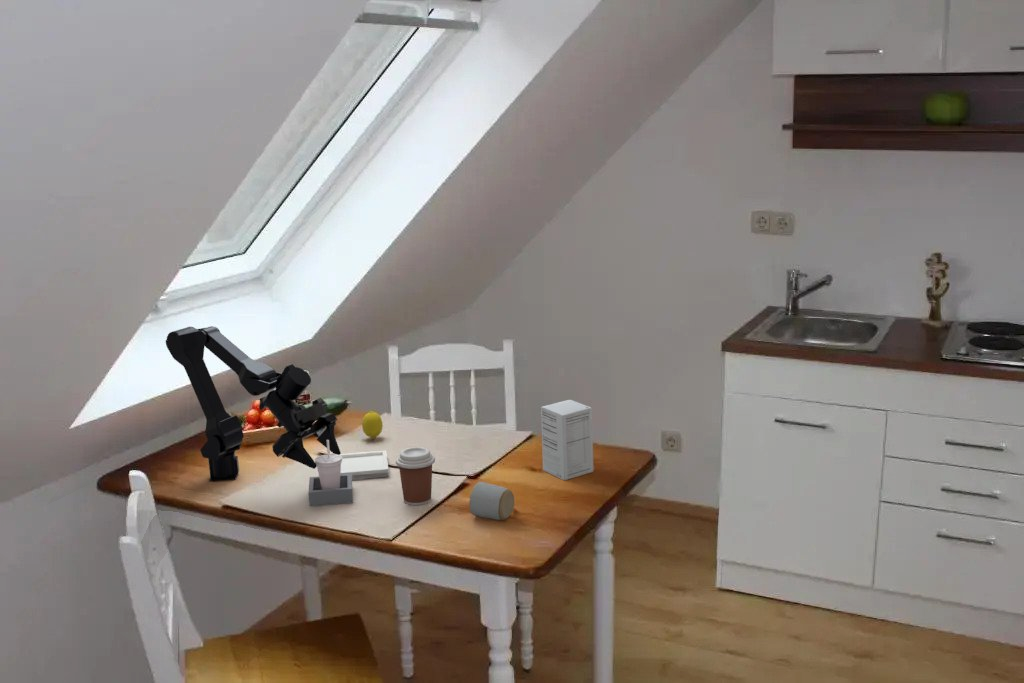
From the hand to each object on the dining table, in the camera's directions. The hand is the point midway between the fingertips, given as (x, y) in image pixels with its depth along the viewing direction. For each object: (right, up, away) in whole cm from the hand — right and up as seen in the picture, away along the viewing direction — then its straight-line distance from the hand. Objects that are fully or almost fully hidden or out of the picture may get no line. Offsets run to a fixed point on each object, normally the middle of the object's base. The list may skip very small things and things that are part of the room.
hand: (327, 461), depth 249 cm
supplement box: (+57, -4, +13) cm, 59 cm away
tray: (+5, -4, +19) cm, 20 cm away
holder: (+1, -9, +2) cm, 9 cm away
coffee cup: (+21, -9, -2) cm, 23 cm away
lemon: (+5, +1, +42) cm, 42 cm away
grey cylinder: (+40, -11, -11) cm, 43 cm away
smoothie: (+1, -9, +2) cm, 9 cm away
